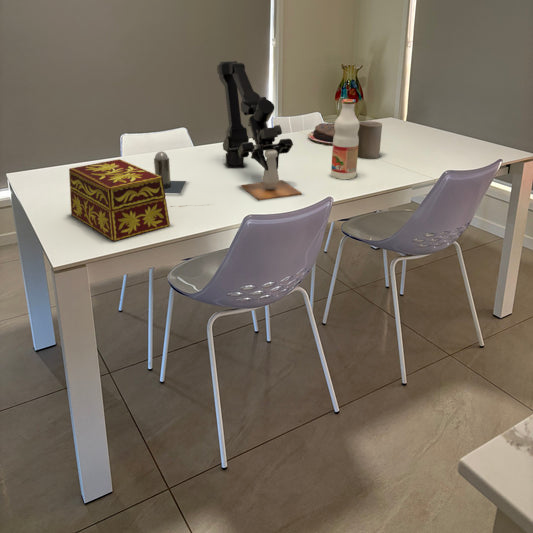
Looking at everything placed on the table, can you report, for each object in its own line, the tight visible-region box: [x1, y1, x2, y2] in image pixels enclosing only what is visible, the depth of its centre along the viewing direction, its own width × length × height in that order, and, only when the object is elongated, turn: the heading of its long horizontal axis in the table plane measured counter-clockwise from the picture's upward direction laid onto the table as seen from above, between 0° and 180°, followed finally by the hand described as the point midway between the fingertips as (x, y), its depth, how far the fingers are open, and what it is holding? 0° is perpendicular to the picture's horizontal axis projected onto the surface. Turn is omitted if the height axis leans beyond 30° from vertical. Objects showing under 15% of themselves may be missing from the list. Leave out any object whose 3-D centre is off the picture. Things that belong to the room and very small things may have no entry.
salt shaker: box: [261, 149, 280, 189], centre depth 202 cm, size 6×6×13 cm
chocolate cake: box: [307, 122, 335, 146], centre depth 274 cm, size 28×28×7 cm
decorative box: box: [68, 158, 171, 242], centre depth 175 cm, size 28×19×15 cm
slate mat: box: [164, 180, 187, 195], centre depth 206 cm, size 14×14×1 cm
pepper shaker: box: [153, 151, 172, 189], centre depth 204 cm, size 5×5×12 cm
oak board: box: [240, 179, 302, 201], centre depth 205 cm, size 16×16×1 cm
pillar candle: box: [357, 119, 383, 160], centre depth 245 cm, size 10×10×15 cm
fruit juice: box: [330, 98, 360, 180], centre depth 216 cm, size 9×9×28 cm
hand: (272, 169), depth 201 cm, fingers closed on salt shaker, 3 cm apart
